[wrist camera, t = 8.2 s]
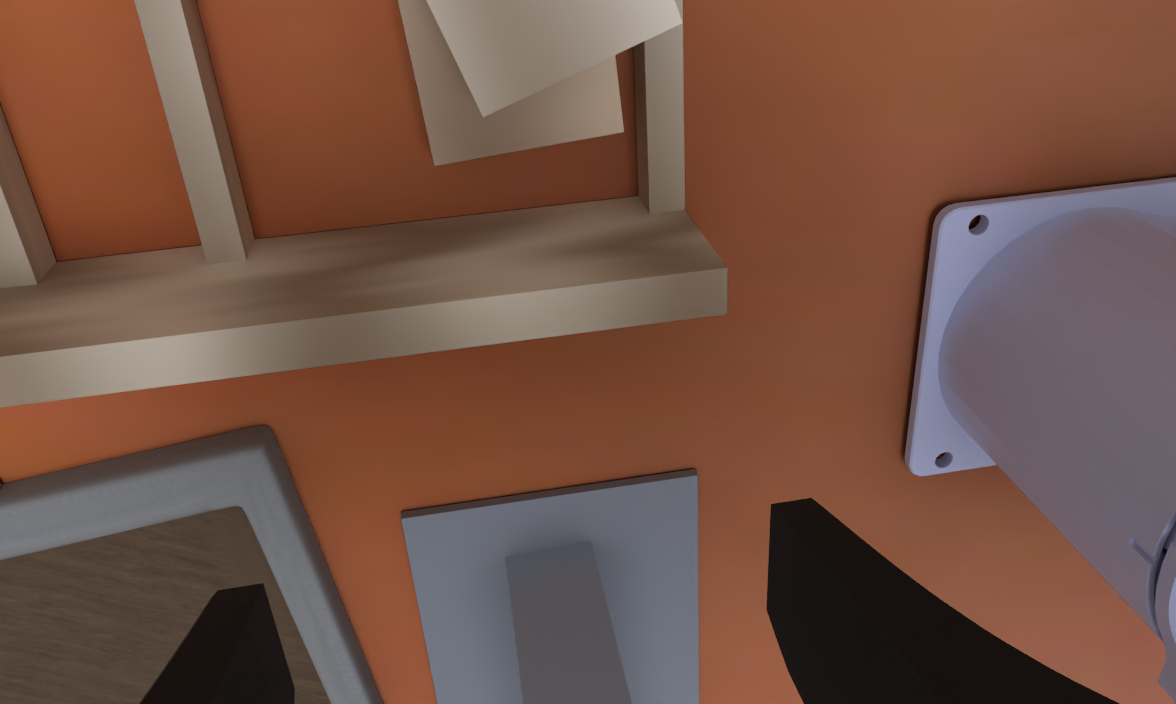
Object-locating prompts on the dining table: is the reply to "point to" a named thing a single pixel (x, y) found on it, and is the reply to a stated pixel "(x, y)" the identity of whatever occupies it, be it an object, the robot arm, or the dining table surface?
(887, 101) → the dining table surface
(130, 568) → the grey rimmed tray
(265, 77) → the dining table surface
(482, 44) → the offcut short
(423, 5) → the offcut long
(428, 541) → the mat
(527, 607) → the upright grey-blue panel
